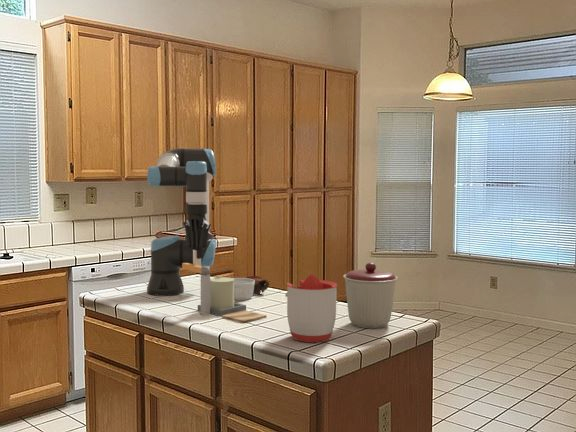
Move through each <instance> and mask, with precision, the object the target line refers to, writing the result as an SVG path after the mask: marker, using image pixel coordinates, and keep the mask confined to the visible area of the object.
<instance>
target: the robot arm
mask: <svg viewBox="0 0 576 432" xmlns="http://www.w3.org/2000/svg"><path fill="white" fill-rule="evenodd" d="M216 169H217V167H216V159H215V154H214V151H213V150H212V149H211V148H181V147H178V148H174V149H173V148H172V149H170V150H168V151H165V152H163V153H162V154H160V155H159V157H158V159H157V161H156V165H153V166H149V167H148V168H147V175H146V177H147V185H149V186H150V187H186V189H185V202H186V206H185V208H186V209H185V213H186V214H187V215H188V216H187V220H186V221H183V222H182V224H183V227H184V230H185V231H184V232H185V236H184V239H182V238H180V236H179V235H168V236H162V237H161V236H160V237H157V238H154V239H152V241H151V244H150V277H149V280H148V284H147V287H146V293H147V295H150V296H151V295H152V296H156V297H158V296H160V297H161V296H163V297H164V296H165V297H166V296H176V295H180V294H183V293H184V291H185V287H184V286H185V285H184V283H183V280H182V277H181V274H180V271H181V270H180V269H181V268H182V263H190V264H194V265H198V266H202V267H203V266H209V267H212V266H213V265H214V263H215V255H216V246H217V240H216V239H215V238H214V236H213V234H212V233H211V232H210V228H211V226H212V224H211V222H210V182H211V181H212V180H213V177H214V176H216V175H217V170H216Z"/></svg>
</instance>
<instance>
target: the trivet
mask: <svg viewBox="0 0 576 432" xmlns="http://www.w3.org/2000/svg"><path fill="white" fill-rule="evenodd" d="M221 318H222V319H226V320H229V321H234V322H237V323H242V324H246V323H250V322H255V321H258V320H261V319H266V318H267V314H263V313H258V312H254V311H249V310H246V311H245V310H243V311H239V312H235V313H230V314H226V315H222V316H221Z"/></svg>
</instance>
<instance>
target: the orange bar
mask: <svg viewBox="0 0 576 432" xmlns="http://www.w3.org/2000/svg"><path fill="white" fill-rule="evenodd" d="M210 267H211V266H210ZM210 267H209V266H203V267H202V266H198V265H194V264H190V263H182V267H181V269H183V270H186V271H190V272H193V273H197V274H200V275H208V274H209V275H211V274H210V273H211V270H210V269H211V268H210Z"/></svg>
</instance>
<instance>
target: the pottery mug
mask: <svg viewBox="0 0 576 432" xmlns="http://www.w3.org/2000/svg"><path fill="white" fill-rule="evenodd" d="M246 278H248V279H253V280H254V281H255V284H254V291H253V295H258V296H259V295H260V296H261V293H264V292H265V291H266V290H267V289H268V288H269V286H270V281H269V280H268V279H262V277H261V276H259V275H254V276H253V275H251V276H247V277H246Z"/></svg>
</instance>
